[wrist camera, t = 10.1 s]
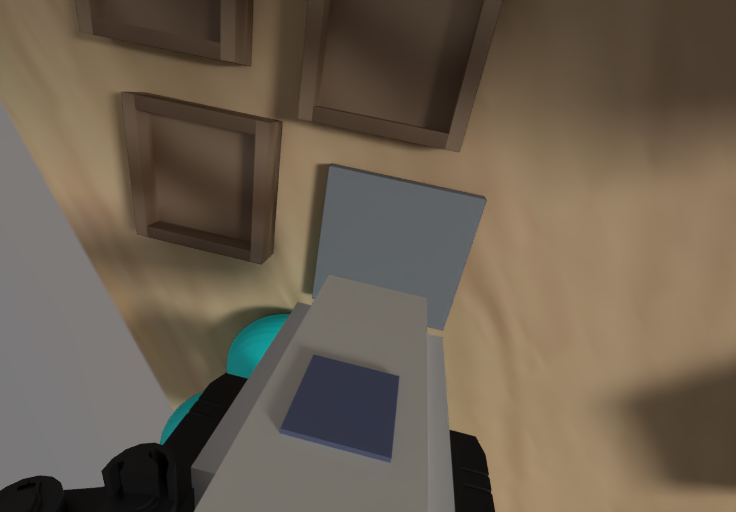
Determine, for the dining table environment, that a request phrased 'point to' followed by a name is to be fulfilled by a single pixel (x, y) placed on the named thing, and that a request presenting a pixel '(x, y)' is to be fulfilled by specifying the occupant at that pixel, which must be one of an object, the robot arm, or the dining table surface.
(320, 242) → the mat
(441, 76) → the brown square tray
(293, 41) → the dining table surface
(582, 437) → the dining table surface
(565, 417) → the dining table surface
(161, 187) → the square wooden tray
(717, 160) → the dining table surface
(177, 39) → the shallow wooden tray
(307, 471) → the white rectangular block
